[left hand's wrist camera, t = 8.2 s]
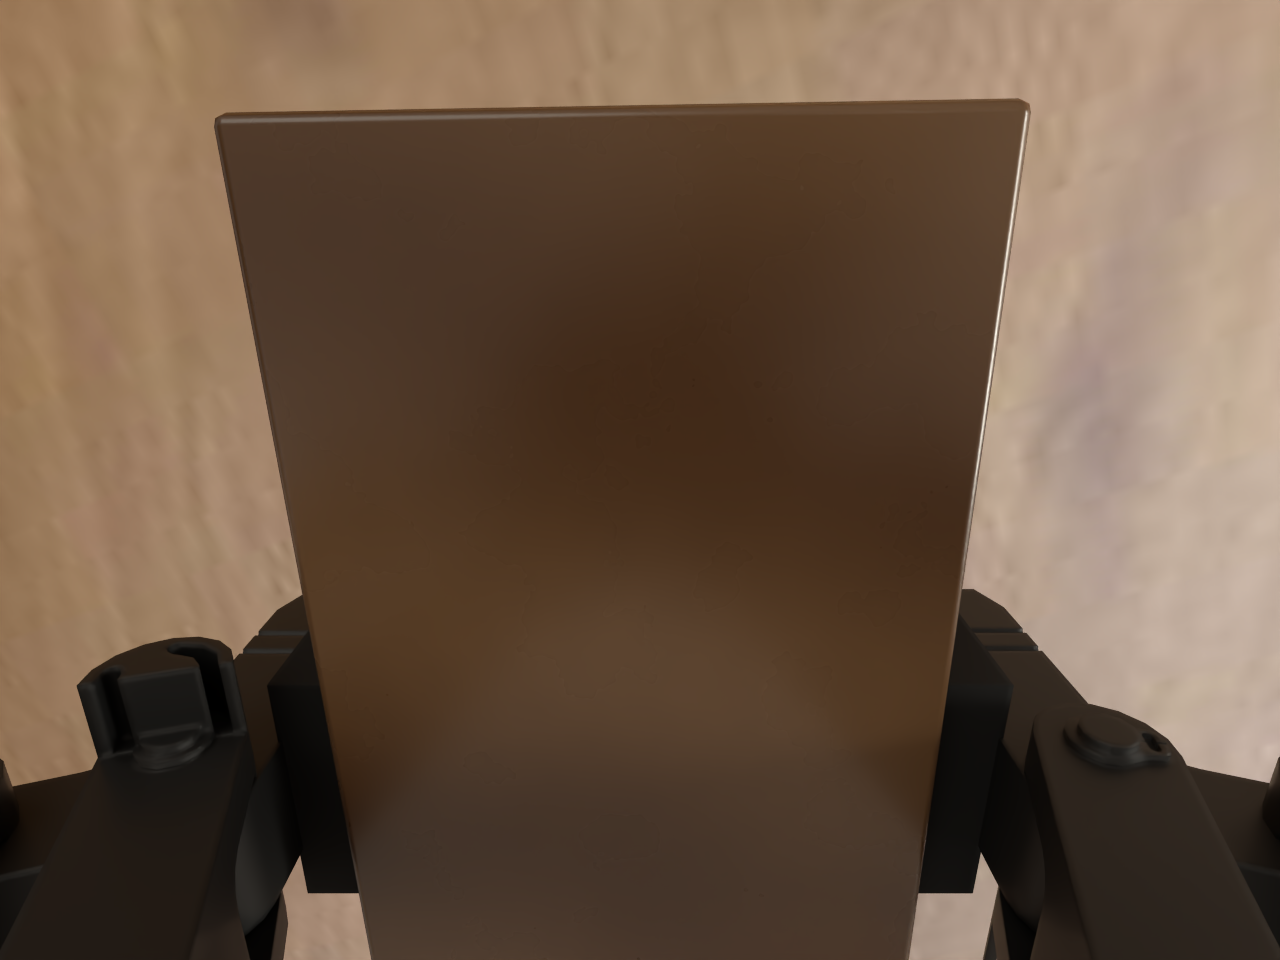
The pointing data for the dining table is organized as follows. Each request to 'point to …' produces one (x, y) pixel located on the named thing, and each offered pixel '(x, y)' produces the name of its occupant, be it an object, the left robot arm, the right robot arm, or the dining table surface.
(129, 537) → the dining table surface
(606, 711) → the bar
